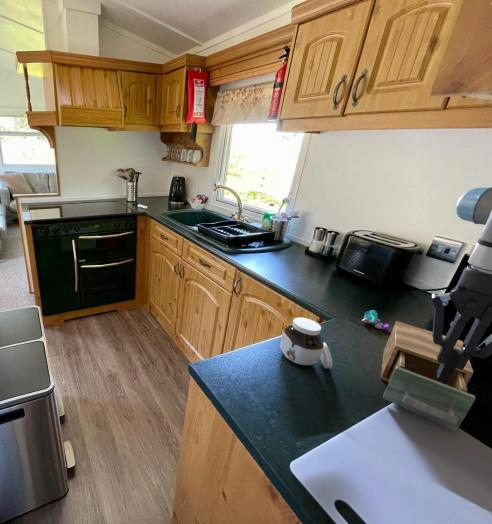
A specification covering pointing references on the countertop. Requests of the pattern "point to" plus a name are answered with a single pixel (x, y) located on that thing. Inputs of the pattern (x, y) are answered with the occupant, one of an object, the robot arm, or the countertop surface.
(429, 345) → the cabinet
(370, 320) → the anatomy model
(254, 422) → the countertop surface
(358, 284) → the countertop surface
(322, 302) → the countertop surface
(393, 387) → the drawer
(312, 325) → the spread jar
